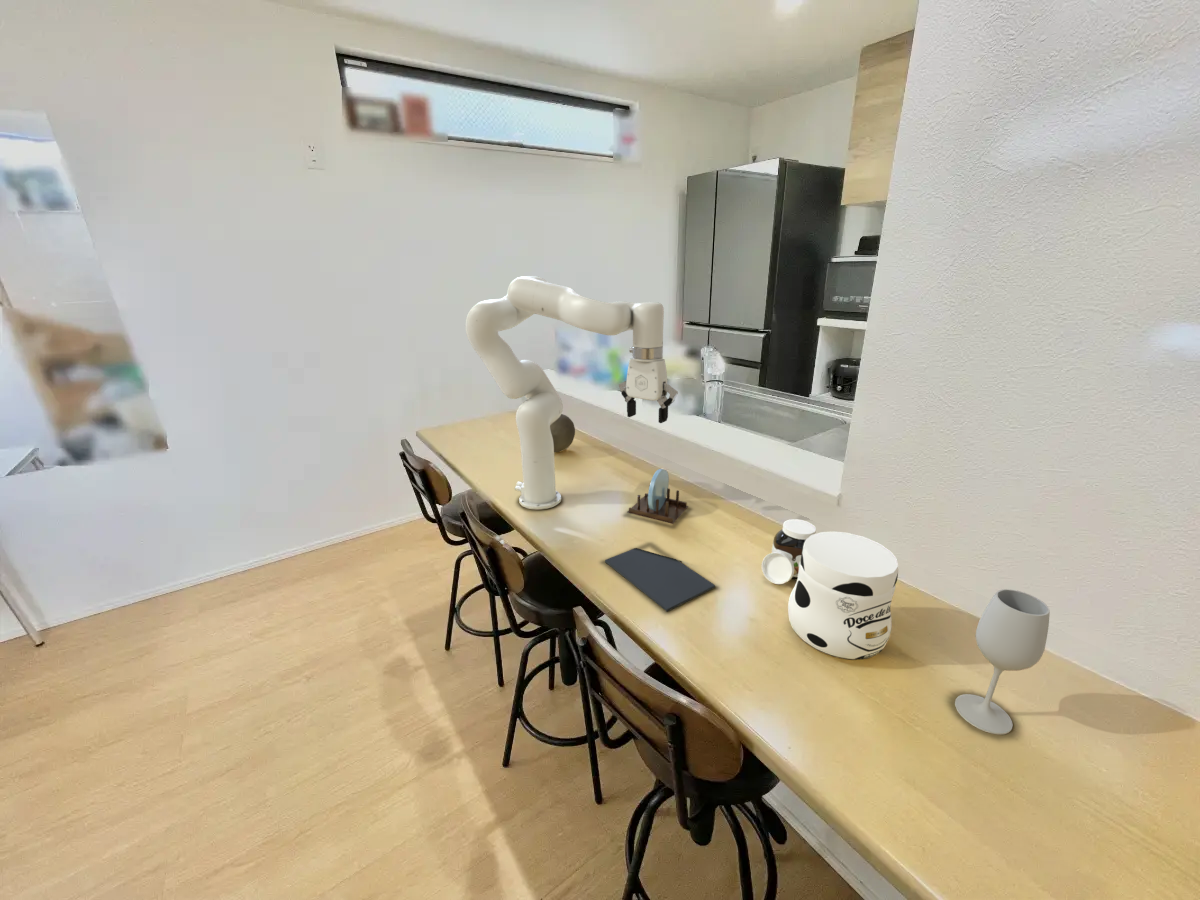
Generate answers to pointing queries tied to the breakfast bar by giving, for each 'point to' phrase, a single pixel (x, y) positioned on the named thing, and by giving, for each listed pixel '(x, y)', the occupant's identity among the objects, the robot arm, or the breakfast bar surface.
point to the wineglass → (1005, 651)
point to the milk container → (844, 595)
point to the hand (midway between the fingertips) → (646, 418)
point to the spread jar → (787, 551)
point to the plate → (658, 489)
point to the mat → (660, 577)
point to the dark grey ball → (562, 433)
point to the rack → (666, 513)
